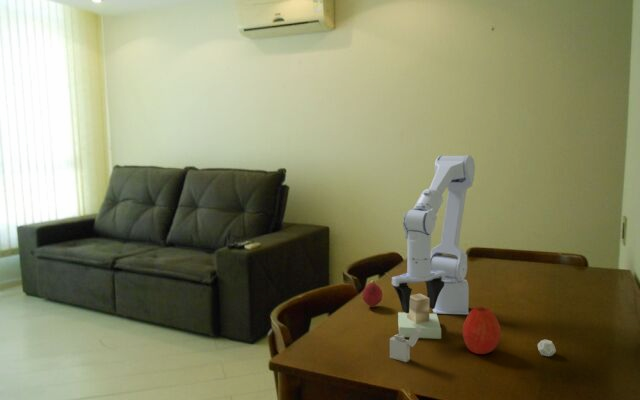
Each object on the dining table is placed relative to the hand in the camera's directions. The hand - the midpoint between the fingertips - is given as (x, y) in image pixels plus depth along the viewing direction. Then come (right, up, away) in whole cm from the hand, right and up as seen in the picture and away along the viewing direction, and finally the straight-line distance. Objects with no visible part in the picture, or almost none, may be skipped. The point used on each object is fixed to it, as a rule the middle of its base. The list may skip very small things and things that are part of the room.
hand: (418, 309), depth 112 cm
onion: (-10, -4, +17) cm, 20 cm away
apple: (+11, -7, -12) cm, 18 cm away
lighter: (-6, -7, -15) cm, 18 cm away
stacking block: (0, -6, +1) cm, 6 cm away
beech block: (0, -3, +1) cm, 3 cm away
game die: (+25, -7, -14) cm, 30 cm away
